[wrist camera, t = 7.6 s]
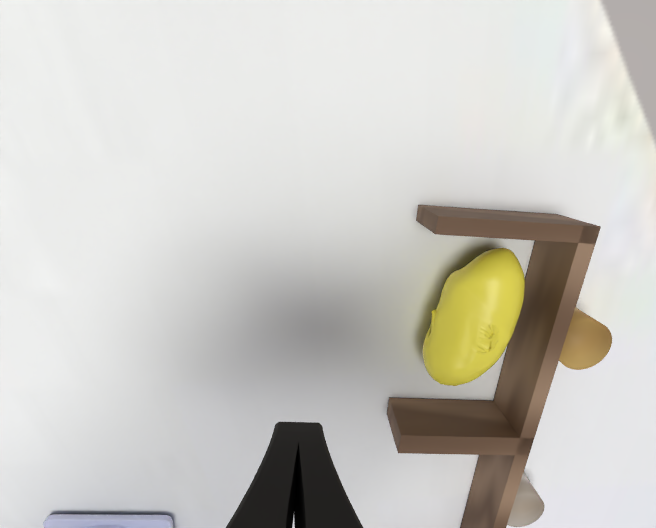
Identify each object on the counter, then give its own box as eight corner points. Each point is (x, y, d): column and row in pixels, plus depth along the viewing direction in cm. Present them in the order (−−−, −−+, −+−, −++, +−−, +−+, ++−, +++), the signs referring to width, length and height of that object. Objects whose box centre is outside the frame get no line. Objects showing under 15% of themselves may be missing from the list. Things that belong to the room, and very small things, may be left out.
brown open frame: (505, 547, 27) (528, 595, 24) (366, 547, 26) (373, 596, 23) (610, 217, 19) (663, 230, 16) (418, 205, 18) (438, 216, 16)
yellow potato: (394, 351, 21) (413, 394, 18) (461, 227, 19) (497, 247, 15) (456, 372, 22) (486, 418, 18) (527, 255, 20) (577, 281, 16)
